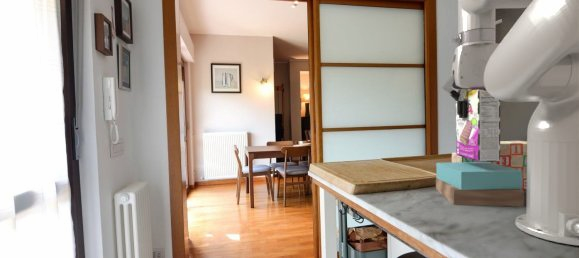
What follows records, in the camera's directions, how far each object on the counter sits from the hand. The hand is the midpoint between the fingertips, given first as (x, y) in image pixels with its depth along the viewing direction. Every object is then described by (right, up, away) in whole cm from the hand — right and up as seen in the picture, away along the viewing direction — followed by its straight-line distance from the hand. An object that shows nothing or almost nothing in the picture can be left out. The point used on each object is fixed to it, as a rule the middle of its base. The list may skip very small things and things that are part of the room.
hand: (476, 116), depth 74 cm
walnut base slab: (0, -20, +1) cm, 20 cm away
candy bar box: (0, -10, 0) cm, 10 cm away
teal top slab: (0, -16, +1) cm, 16 cm away
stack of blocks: (+12, -19, +10) cm, 24 cm away
